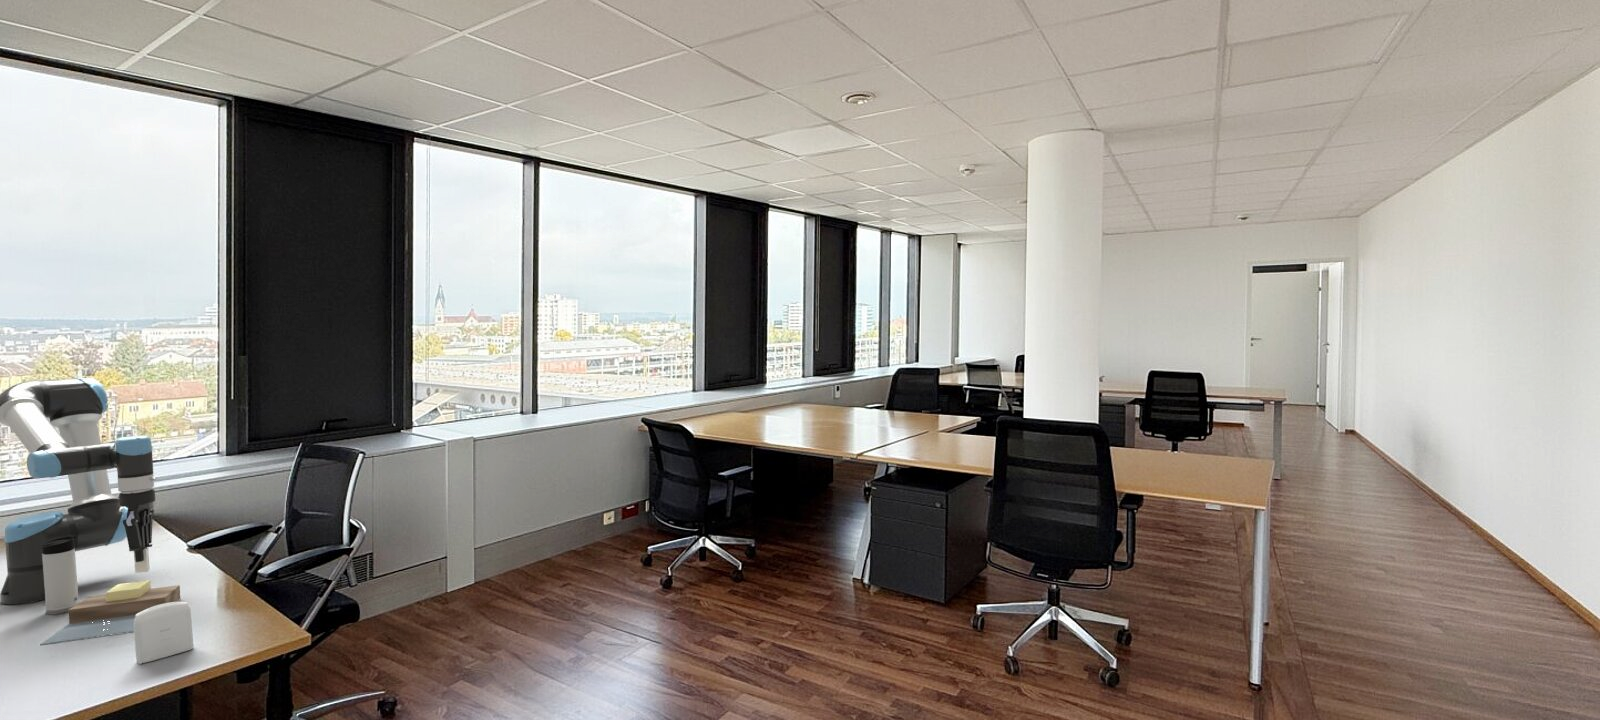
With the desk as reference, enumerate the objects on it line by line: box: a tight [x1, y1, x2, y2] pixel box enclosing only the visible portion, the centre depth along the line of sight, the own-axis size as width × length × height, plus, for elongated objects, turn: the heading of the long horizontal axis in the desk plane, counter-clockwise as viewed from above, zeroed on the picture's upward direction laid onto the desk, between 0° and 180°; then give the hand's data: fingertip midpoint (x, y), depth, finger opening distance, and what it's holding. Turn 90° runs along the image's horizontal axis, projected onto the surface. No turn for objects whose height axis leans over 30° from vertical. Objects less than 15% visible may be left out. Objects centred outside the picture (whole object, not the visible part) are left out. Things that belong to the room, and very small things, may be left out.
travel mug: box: [42, 536, 79, 615], centre depth 196 cm, size 6×7×20 cm
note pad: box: [105, 579, 152, 602], centre depth 197 cm, size 7×7×2 cm
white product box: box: [133, 601, 194, 665], centre depth 169 cm, size 10×4×12 cm, turn 140°
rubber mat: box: [39, 615, 135, 646], centre depth 185 cm, size 13×20×1 cm, turn 113°
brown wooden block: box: [67, 584, 181, 624], centre depth 195 cm, size 10×20×4 cm, turn 113°
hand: (142, 571), depth 204 cm, fingers closed
